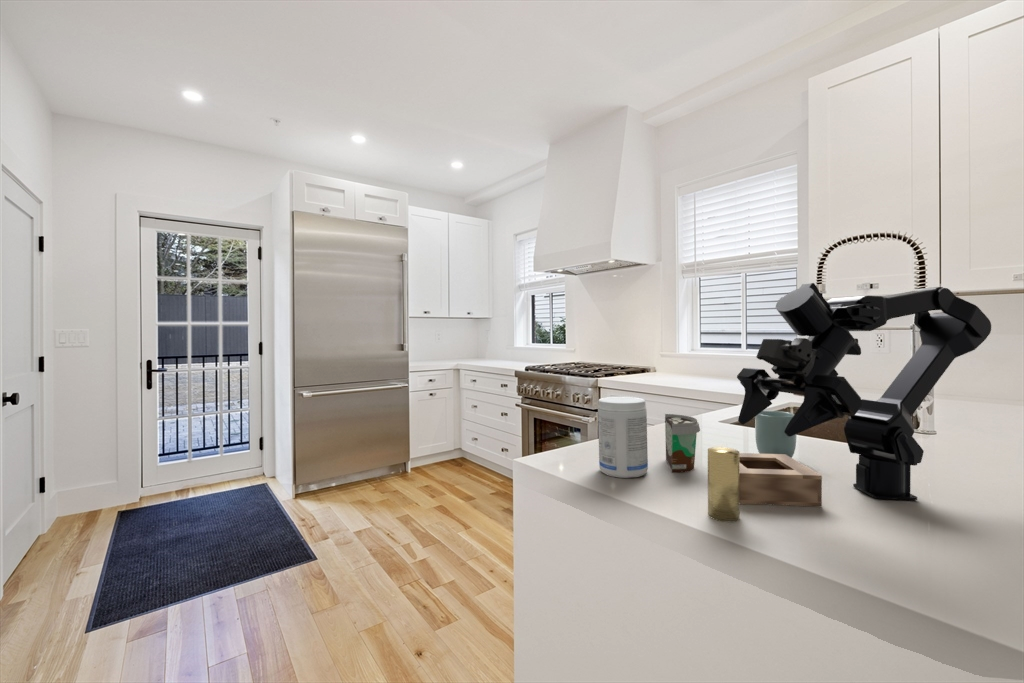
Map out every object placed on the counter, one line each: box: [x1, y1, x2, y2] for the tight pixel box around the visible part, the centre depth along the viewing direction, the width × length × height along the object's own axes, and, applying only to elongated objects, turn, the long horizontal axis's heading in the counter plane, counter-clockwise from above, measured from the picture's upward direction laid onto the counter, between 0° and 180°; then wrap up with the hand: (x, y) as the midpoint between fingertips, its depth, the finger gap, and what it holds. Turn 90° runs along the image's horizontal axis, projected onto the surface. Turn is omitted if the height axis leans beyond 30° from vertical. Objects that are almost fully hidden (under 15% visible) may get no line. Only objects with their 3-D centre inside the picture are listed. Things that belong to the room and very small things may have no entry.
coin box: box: [739, 452, 823, 507], centre depth 81 cm, size 13×13×5 cm
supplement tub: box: [597, 396, 649, 479], centre depth 93 cm, size 10×10×15 cm
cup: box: [754, 410, 798, 459], centre depth 101 cm, size 8×8×10 cm
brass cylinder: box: [707, 446, 741, 522], centre depth 70 cm, size 4×4×10 cm
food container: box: [664, 413, 701, 474], centre depth 96 cm, size 12×6×10 cm, turn 168°
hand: (762, 428), depth 72 cm, fingers open, 9 cm apart
